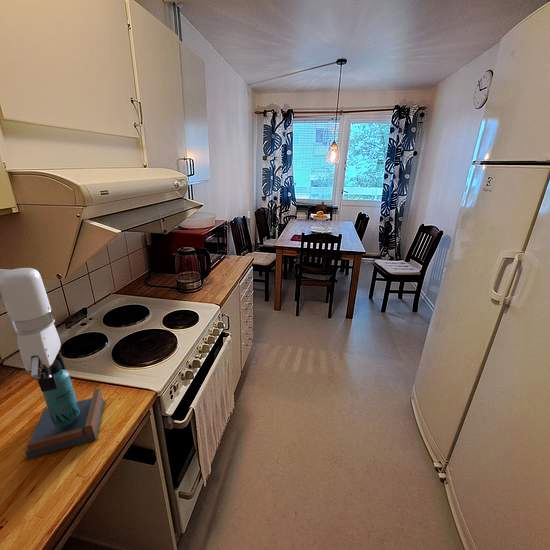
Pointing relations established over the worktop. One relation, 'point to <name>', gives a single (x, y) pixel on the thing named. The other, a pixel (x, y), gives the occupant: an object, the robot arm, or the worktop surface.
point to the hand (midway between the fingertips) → (54, 379)
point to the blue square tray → (67, 428)
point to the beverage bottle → (61, 398)
